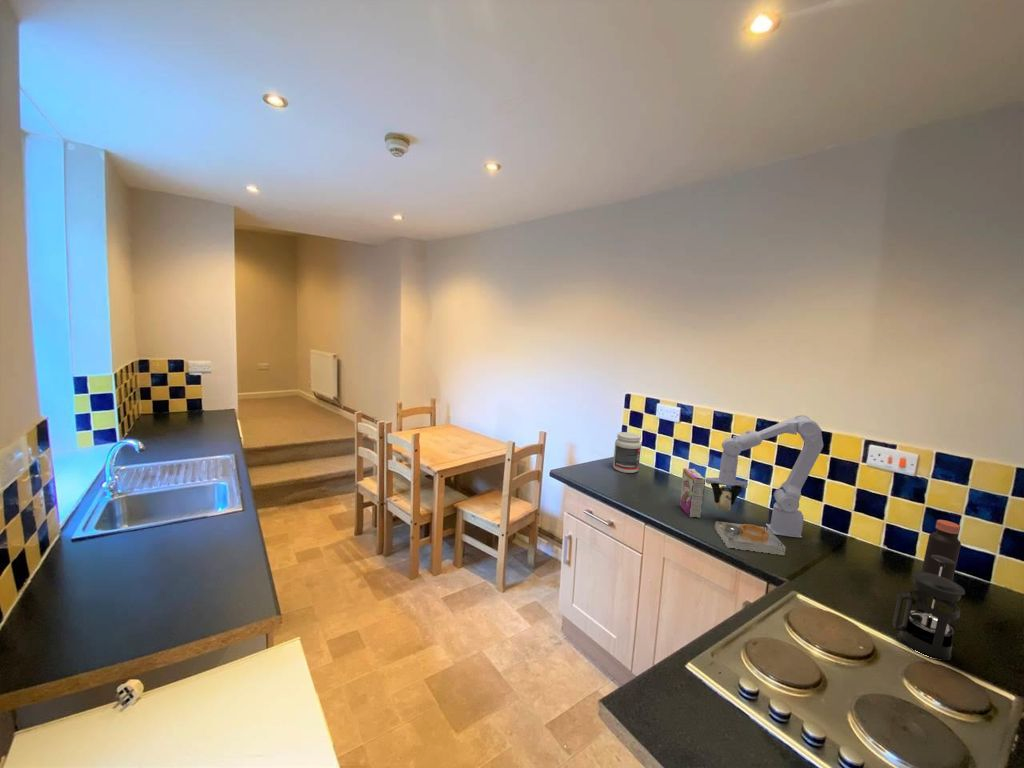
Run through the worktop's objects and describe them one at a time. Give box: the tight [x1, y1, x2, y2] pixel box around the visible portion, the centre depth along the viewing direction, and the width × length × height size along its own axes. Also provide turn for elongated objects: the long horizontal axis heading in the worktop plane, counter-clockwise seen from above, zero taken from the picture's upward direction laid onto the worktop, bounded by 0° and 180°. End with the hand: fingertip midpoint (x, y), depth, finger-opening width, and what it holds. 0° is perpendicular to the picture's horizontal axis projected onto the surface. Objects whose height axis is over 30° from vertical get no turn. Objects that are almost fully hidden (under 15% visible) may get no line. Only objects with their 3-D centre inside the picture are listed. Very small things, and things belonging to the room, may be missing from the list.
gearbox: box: [714, 520, 787, 556], centre depth 150 cm, size 18×14×4 cm
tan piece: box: [715, 485, 733, 512], centre depth 164 cm, size 5×8×8 cm, turn 171°
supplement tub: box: [612, 431, 642, 474], centre depth 217 cm, size 13×13×18 cm
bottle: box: [920, 519, 962, 582], centre depth 129 cm, size 7×7×20 cm
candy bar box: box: [678, 468, 706, 519], centre depth 171 cm, size 11×5×16 cm, turn 179°
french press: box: [892, 555, 966, 661], centre depth 102 cm, size 12×9×23 cm
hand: (723, 502), depth 166 cm, fingers closed on tan piece, 5 cm apart
